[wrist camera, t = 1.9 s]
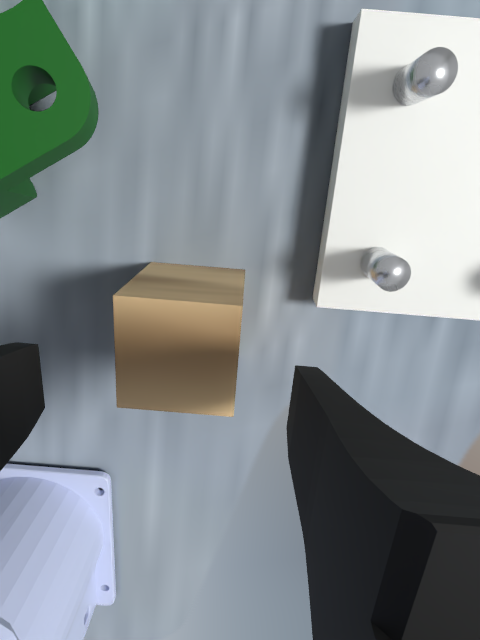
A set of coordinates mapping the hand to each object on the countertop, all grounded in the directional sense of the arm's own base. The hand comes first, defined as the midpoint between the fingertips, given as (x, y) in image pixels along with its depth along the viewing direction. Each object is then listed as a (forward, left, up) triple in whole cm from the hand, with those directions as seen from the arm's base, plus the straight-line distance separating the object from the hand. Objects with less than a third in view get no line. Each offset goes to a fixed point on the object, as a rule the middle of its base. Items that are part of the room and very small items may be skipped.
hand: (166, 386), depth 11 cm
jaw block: (0, 0, -7) cm, 7 cm away
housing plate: (+6, -10, -7) cm, 13 cm away
